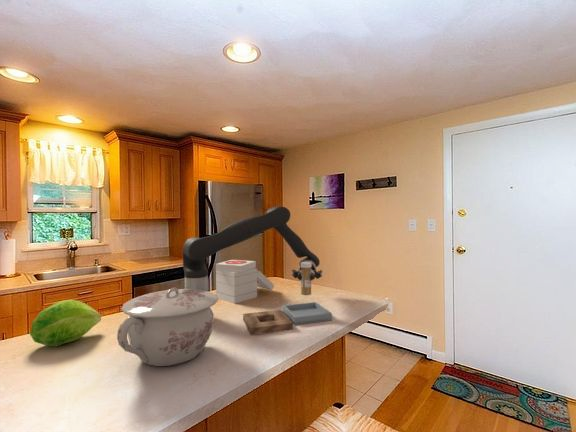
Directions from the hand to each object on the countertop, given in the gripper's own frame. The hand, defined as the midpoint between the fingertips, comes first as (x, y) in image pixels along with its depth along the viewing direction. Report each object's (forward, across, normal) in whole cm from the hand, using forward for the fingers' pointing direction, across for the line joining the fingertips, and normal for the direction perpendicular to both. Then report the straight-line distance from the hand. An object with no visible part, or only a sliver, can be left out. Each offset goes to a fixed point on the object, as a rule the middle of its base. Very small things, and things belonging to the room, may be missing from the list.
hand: (305, 277), depth 123 cm
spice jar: (-3, 0, +8) cm, 8 cm away
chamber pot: (+37, -39, +17) cm, 56 cm away
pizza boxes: (-31, -34, +17) cm, 49 cm away
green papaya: (+31, -79, +17) cm, 87 cm away
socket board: (+9, -15, +17) cm, 24 cm away
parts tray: (-3, 0, +17) cm, 17 cm away
